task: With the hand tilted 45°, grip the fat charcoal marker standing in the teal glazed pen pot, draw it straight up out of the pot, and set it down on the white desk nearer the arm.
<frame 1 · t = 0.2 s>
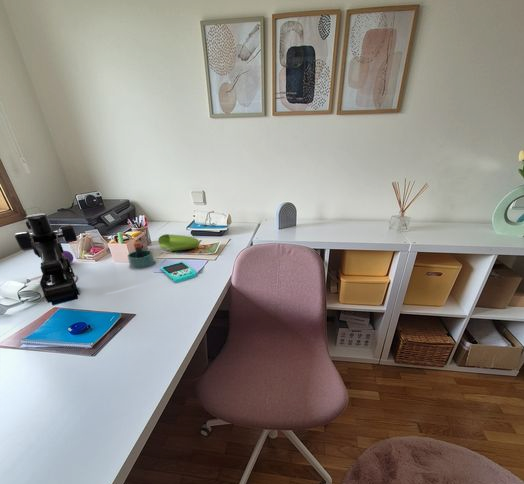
hand: (46, 232, 120), 17 cm above the table, tool horizontal, fingers open, 9 cm apart
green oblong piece: (179, 250, 147), on the table
pen pot: (142, 264, 132), on the table
marker: (142, 263, 132), resting on pen pot
handheld game console: (179, 273, 124), on the table
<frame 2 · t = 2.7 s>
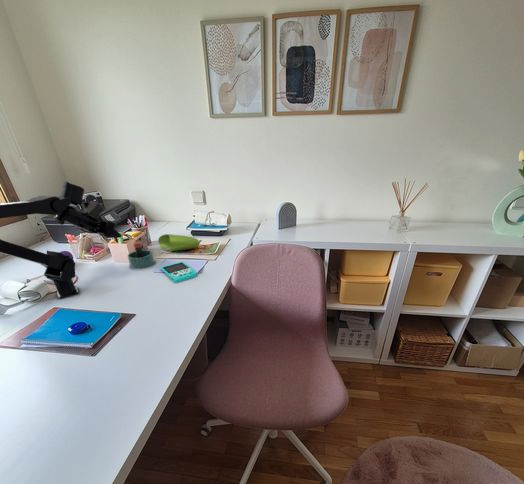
hand: (113, 234, 123), 14 cm above the table, tool tilted 50°, fingers open, 9 cm apart
nothing on the table moved.
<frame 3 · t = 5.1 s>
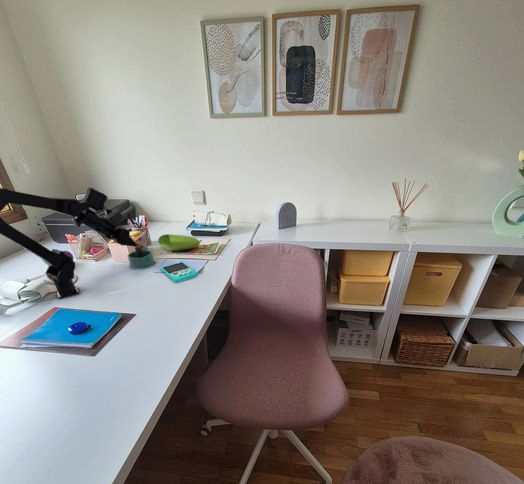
hand: (131, 243, 125), 10 cm above the table, tool tilted 45°, fingers open, 9 cm apart
nothing on the table moved.
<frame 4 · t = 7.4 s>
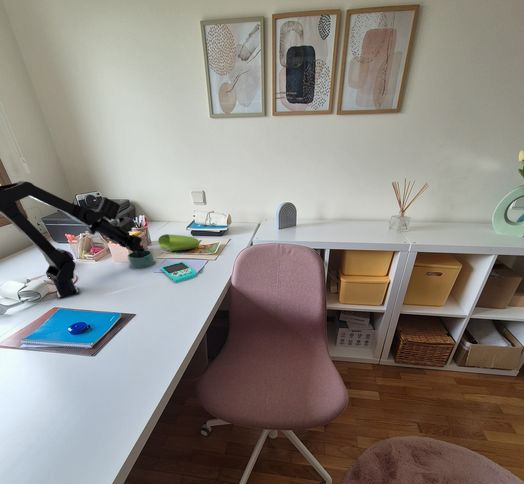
hand: (141, 249, 129), 7 cm above the table, tool tilted 45°, fingers closed on marker, 3 cm apart
marker: (142, 263, 132), point 1 cm above the table, touching gripper, pen pot
everything else where it was.
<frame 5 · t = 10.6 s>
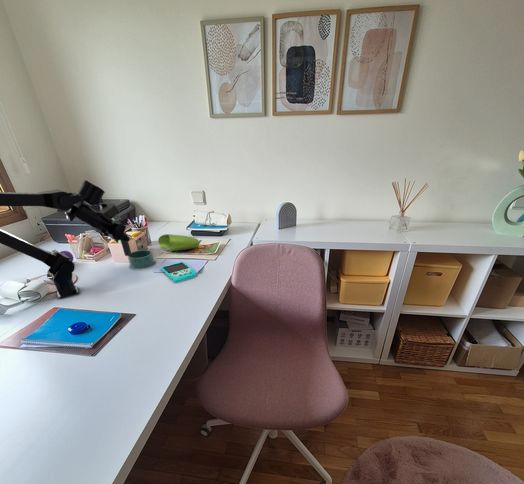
hand: (127, 239, 120), 13 cm above the table, tool tilted 45°, fingers closed on marker, 3 cm apart
marker: (128, 254, 122), point 7 cm above the table, touching gripper
everything else where it was.
when the fingers open (6 cm above the table, at t = 13.7 s): marker stays where it is, on the table.
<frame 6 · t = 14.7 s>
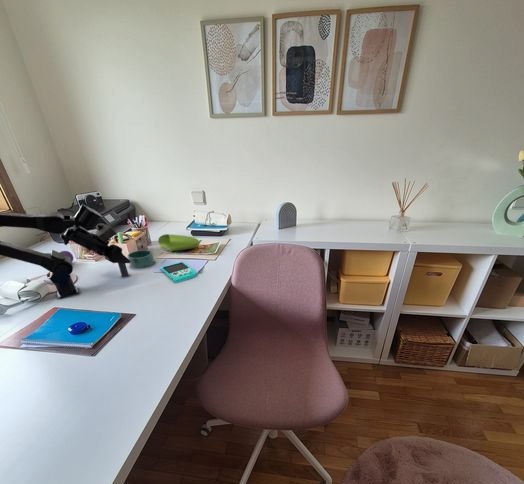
hand: (124, 259, 119), 7 cm above the table, tool tilted 45°, fingers open, 9 cm apart
marker: (125, 276, 122), on the table
everything else where it was.
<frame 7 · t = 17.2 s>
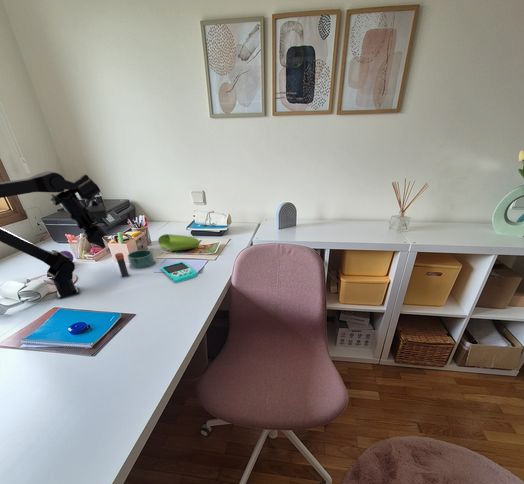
hand: (100, 241, 117), 14 cm above the table, tool tilted 25°, fingers open, 9 cm apart
nothing on the table moved.
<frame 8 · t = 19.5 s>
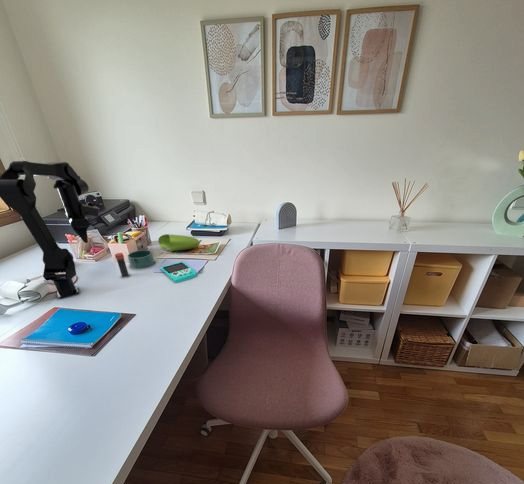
hand: (84, 239, 122), 13 cm above the table, tool pointing down, fingers open, 9 cm apart
nothing on the table moved.
at the end: marker inside the target area (2.0 cm from its centre), on the table; marker touching table; the gripper is holding nothing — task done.
